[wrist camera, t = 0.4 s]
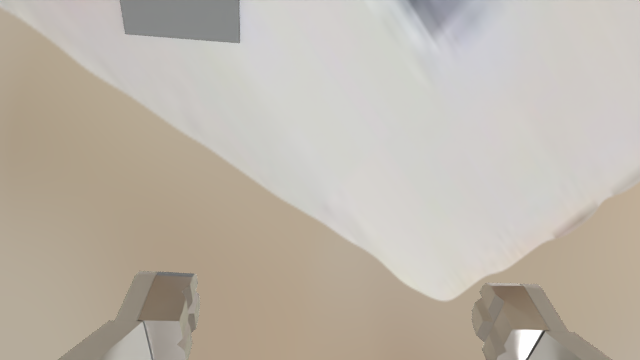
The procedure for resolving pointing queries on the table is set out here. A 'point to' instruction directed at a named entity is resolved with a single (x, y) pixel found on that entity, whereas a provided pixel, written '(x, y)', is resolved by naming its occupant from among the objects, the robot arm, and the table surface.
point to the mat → (183, 19)
